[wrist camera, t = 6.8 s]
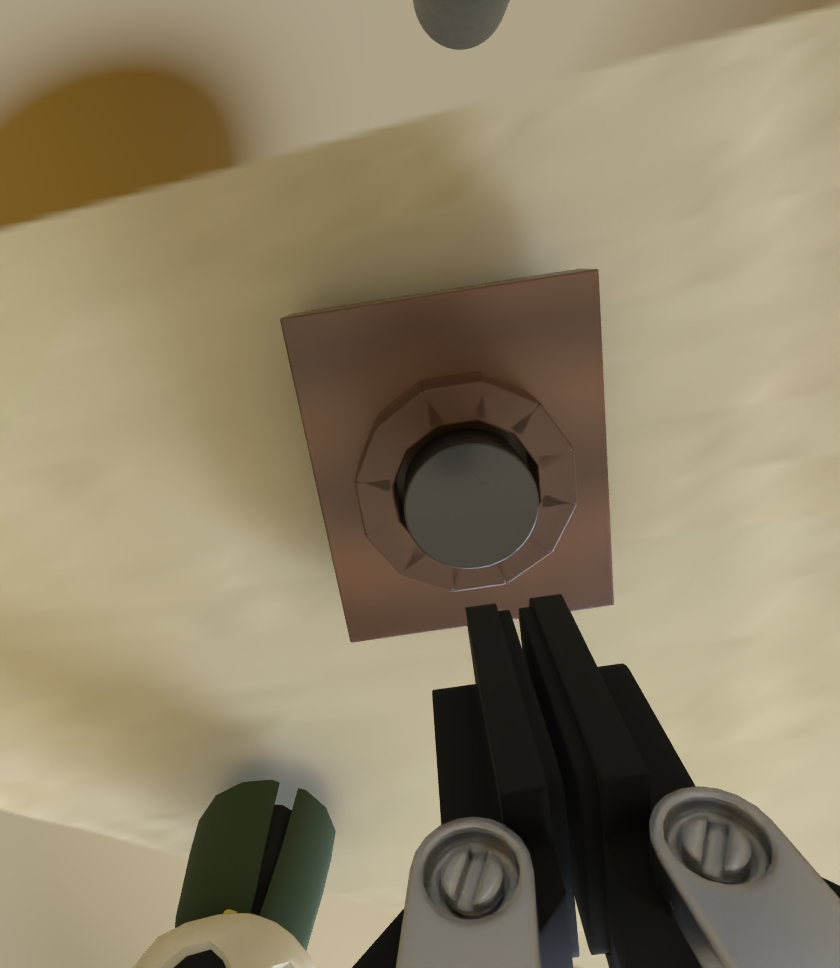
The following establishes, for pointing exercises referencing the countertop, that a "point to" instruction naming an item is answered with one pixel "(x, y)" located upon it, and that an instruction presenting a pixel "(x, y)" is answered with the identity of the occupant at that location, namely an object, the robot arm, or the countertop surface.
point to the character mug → (250, 883)
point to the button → (469, 499)
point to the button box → (451, 406)
